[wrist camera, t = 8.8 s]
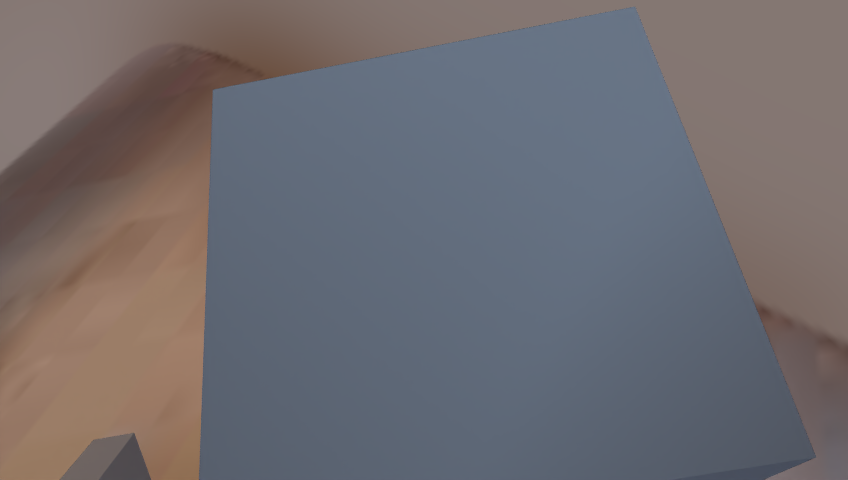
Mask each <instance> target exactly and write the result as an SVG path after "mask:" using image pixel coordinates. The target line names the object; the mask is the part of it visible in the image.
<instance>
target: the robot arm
mask: <svg viewBox="0 0 848 480" xmlns="http://www.w3.org/2000/svg"><path fill="white" fill-rule="evenodd" d="M60 480H151V478H150V475H149V473H148V470H147V467H146V464H145V462H144V459H143V456H142V453H141V451H140V448H139V445H138V442H137V440H136V437H135V434H134V433H131V434H125V435H120V436H114V437H108V438H102V439H96V440H93V441H92V442H91V444H90V445H89V446H88V447H87V448H86V449H85V451H84V452H83V453H82V454H81V455H80V456H79V458H78V459H77V460H76V461H75V462H74V464H73V465H72V466H71V467H70V468H69V469H68V471H67V472H66V473H65V474H64V475H63V476H62V478H61V479H60Z"/></svg>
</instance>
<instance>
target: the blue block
mask: <svg viewBox="0 0 848 480" xmlns="http://www.w3.org/2000/svg"><path fill="white" fill-rule="evenodd" d="M813 458H816V455H815V453H814V451H813V448H812V446H811V443H810V441H809V438H808V436H807V433H806V431H805V428H804V426H803V423H802V421H801V418H800V416H799V413H798V411H797V408H796V406H795V403H794V401H793V398H792V396H791V393H790V391H789V388H788V386H787V383H786V381H785V378H784V376H783V373H782V371H781V368H780V366H779V363H778V361H777V359H776V356H775V354H774V351H773V349H772V346H771V344H770V341H769V339H768V336H767V334H766V331H765V329H764V326H763V324H762V321H761V319H760V316H759V314H758V311H757V309H756V306H755V304H754V301H753V299H752V296H751V294H750V291H749V289H748V286H747V284H746V281H745V279H744V277H743V274H742V271H741V270H740V267H739V264H738V262H737V259H736V257H735V254H734V252H733V249H732V247H731V244H730V242H729V240H728V237H727V234H726V232H725V229H724V227H723V224H722V222H721V220H720V217H719V214H718V212H717V209H716V207H715V204H714V202H713V200H712V197H711V194H710V192H709V190H708V187H707V185H706V182H705V180H704V177H703V175H702V172H701V169H700V167H699V165H698V162H697V160H696V157H695V155H694V152H693V150H692V147H691V145H690V142H689V140H688V137H687V135H686V132H685V130H684V127H683V125H682V122H681V120H680V118H679V115H678V112H677V110H676V107H675V105H674V103H673V100H672V97H671V95H670V92H669V90H668V88H667V85H666V83H665V80H664V77H663V75H662V73H661V70H660V68H659V65H658V63H657V60H656V58H655V55H654V53H653V50H652V48H651V45H650V43H649V40H648V38H647V35H646V33H645V30H644V28H643V26H642V23H641V20H640V18H639V15H638V13H637V11H636V8H635V7H630V8H626V9H621V10H615V11H610V12H605V13H600V14H595V15H590V16H585V17H579V18H575V19H569V20H565V21H559V22H554V23H549V24H544V25H539V26H534V27H529V28H524V29H519V30H514V31H508V32H503V33H498V34H493V35H488V36H483V37H478V38H473V39H468V40H463V41H458V42H453V43H448V44H442V45H438V46H432V47H427V48H422V49H417V50H412V51H407V52H402V53H397V54H391V55H387V56H382V57H376V58H371V59H366V60H361V61H356V62H351V63H346V64H341V65H336V66H330V67H325V68H320V69H315V70H310V71H305V72H301V73H295V74H290V75H285V76H280V77H275V78H270V79H264V80H259V81H254V82H249V83H244V84H239V85H234V86H229V87H224V88H219V89H214V90H213V104H212V132H211V160H210V188H209V216H208V244H207V272H206V301H205V329H204V357H203V385H202V413H201V441H200V470H199V480H764V479H766V478H769V477H771V476H773V475H776V474H778V473H780V472H783V471H785V470H787V469H790V468H792V467H795V466H797V465H799V464H802V463H804V462H806V461H809V460H811V459H813Z"/></svg>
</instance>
